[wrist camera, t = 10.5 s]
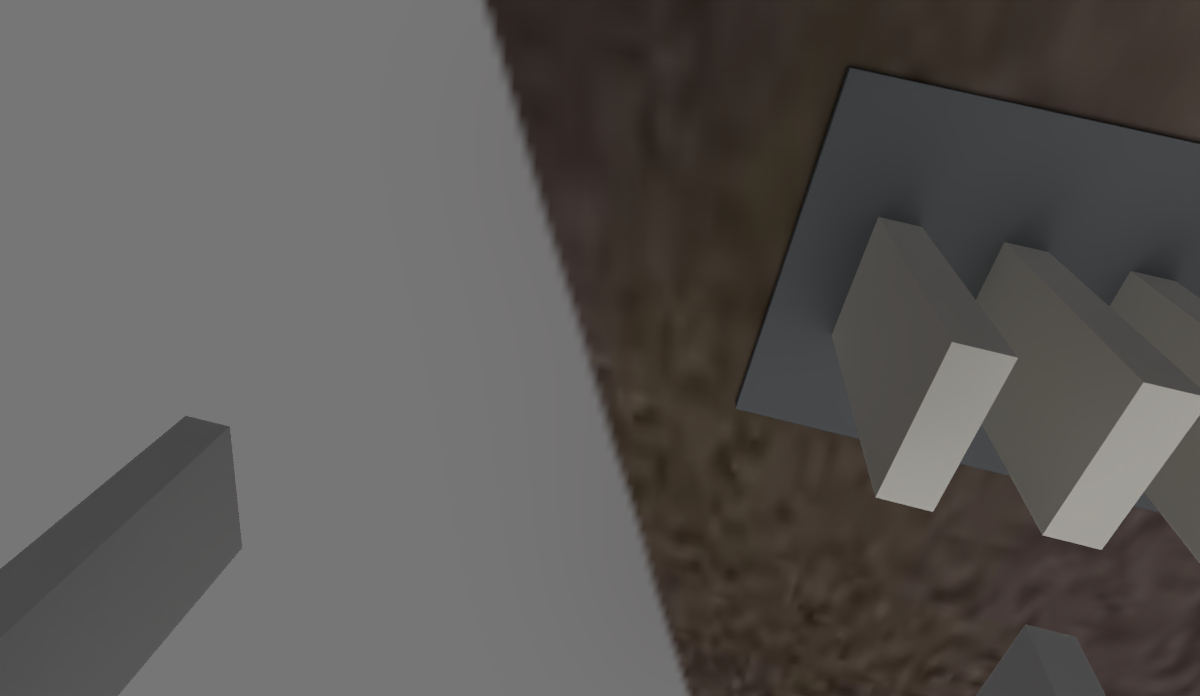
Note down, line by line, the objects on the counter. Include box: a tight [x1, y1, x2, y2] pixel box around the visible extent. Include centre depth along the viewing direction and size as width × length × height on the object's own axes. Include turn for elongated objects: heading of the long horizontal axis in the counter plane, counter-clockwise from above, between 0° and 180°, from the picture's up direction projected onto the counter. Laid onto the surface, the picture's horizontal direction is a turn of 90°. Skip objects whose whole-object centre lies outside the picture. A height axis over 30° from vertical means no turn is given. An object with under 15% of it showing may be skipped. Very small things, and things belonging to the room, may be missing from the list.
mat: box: [736, 67, 1200, 513], centre depth 27 cm, size 14×29×1 cm, turn 79°
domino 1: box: [976, 242, 1200, 550], centre depth 23 cm, size 5×2×10 cm, turn 170°
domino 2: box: [1109, 271, 1200, 563], centre depth 22 cm, size 5×2×10 cm, turn 170°
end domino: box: [832, 217, 1018, 512], centre depth 23 cm, size 5×2×10 cm, turn 169°
